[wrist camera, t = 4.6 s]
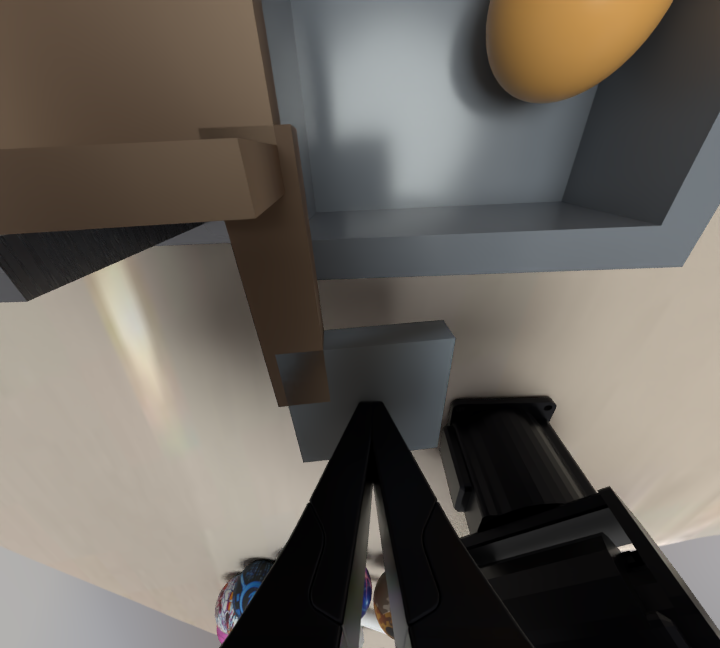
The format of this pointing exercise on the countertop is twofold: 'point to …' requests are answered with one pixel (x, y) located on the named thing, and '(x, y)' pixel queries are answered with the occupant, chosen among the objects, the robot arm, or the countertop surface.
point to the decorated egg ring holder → (252, 576)
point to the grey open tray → (492, 144)
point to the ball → (564, 43)
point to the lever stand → (85, 253)
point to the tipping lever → (198, 185)
